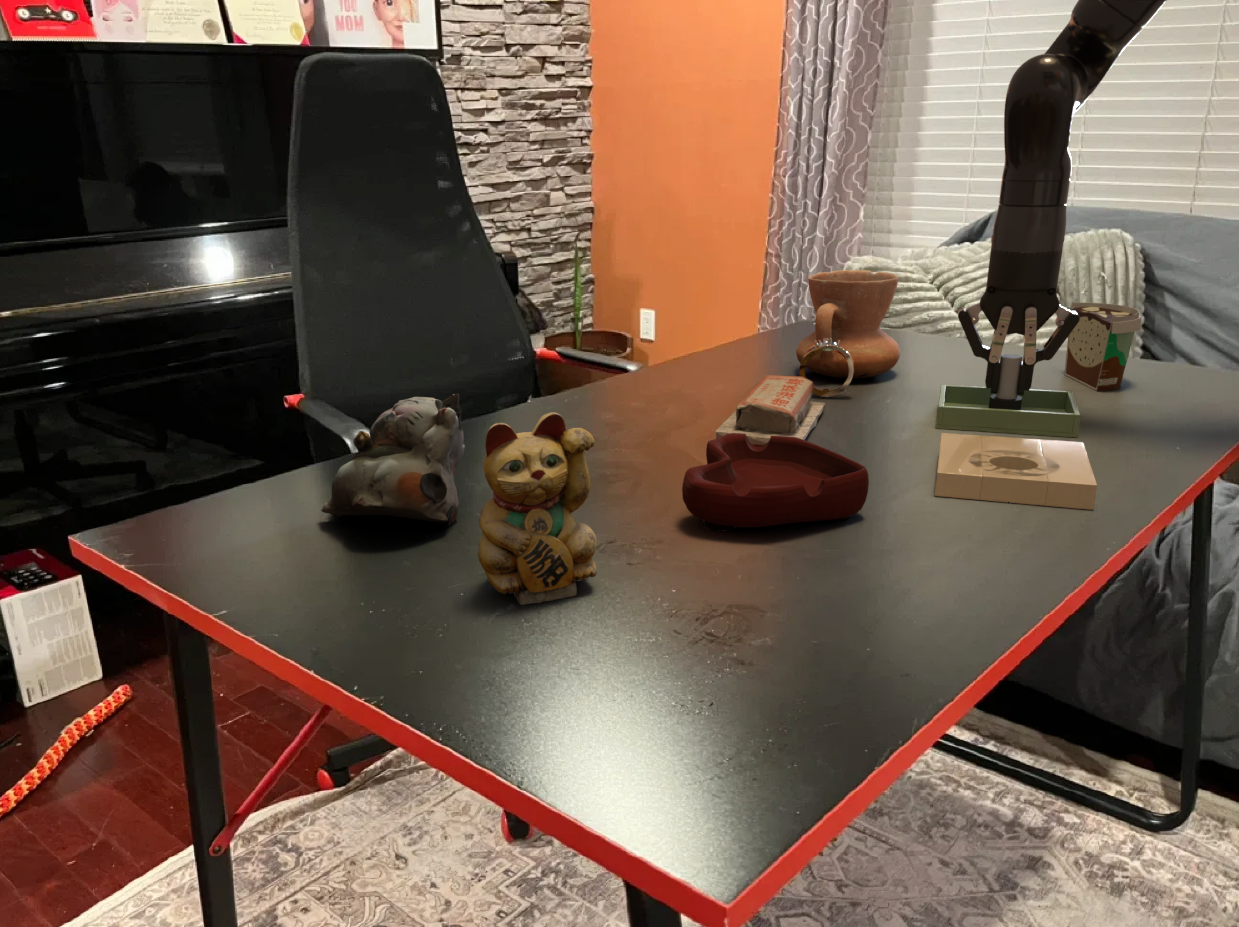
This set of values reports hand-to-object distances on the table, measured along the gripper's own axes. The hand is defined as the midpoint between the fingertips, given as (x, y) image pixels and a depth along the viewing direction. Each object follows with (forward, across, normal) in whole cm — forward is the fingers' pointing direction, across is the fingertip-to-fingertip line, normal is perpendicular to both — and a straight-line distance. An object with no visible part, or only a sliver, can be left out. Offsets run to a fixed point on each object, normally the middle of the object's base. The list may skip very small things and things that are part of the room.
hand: (1007, 392), depth 122 cm
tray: (+3, 0, 0) cm, 3 cm away
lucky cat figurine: (+4, -56, -50) cm, 75 cm away
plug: (+3, 0, 0) cm, 3 cm away
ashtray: (+4, -21, -38) cm, 43 cm away
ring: (+4, -22, +6) cm, 23 cm away
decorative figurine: (+4, -37, -61) cm, 71 cm away
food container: (+4, +13, +23) cm, 27 cm away
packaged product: (+4, -26, -10) cm, 28 cm away
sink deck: (+4, 0, -23) cm, 23 cm away
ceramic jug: (+4, -21, +20) cm, 29 cm away
